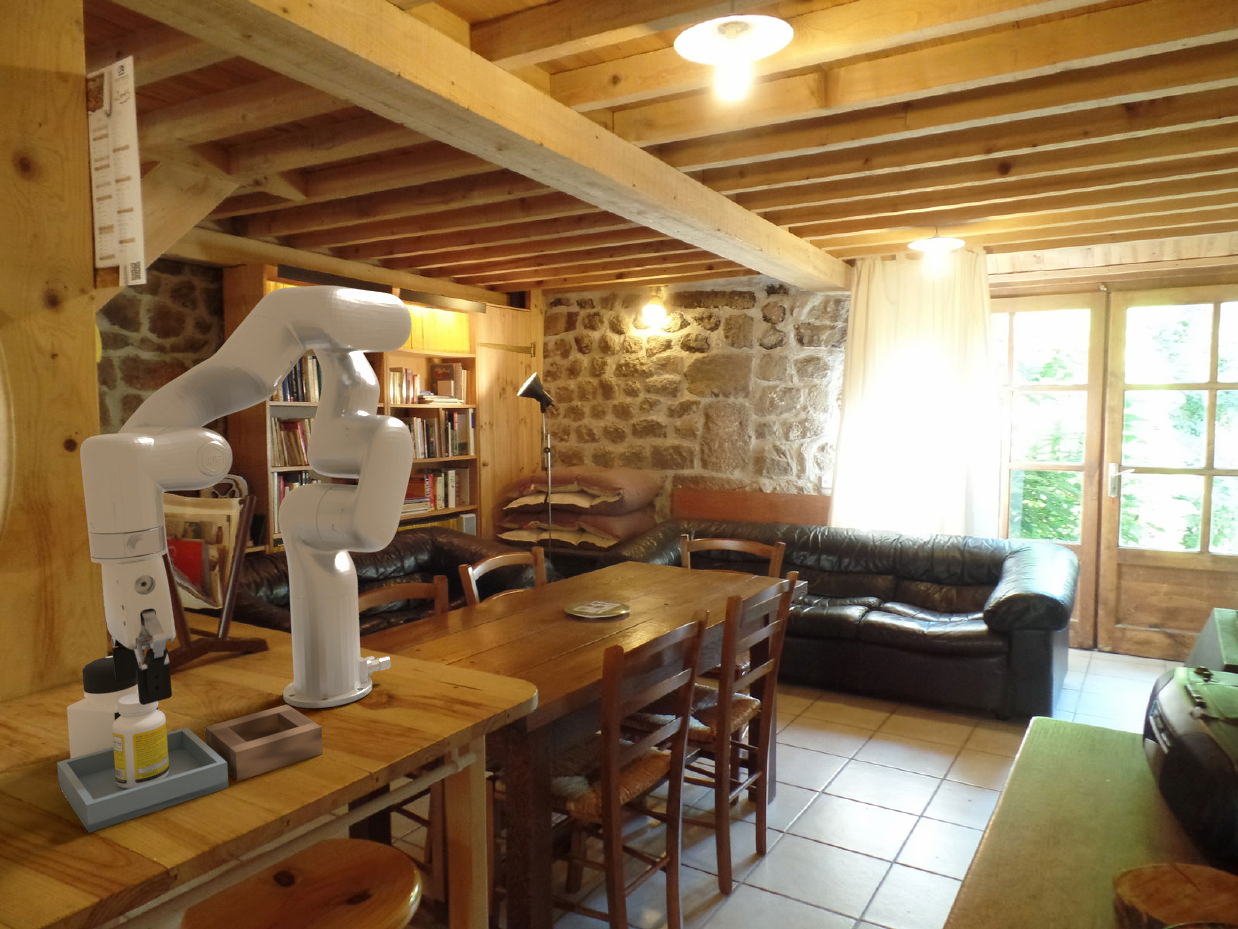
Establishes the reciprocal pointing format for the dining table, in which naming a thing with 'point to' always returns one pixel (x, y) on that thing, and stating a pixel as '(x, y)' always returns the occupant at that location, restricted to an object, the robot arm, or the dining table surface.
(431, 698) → the dining table surface
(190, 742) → the pin tray
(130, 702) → the supplement bottle
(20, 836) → the dining table surface
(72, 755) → the medicine bottle
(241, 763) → the small brown open box
